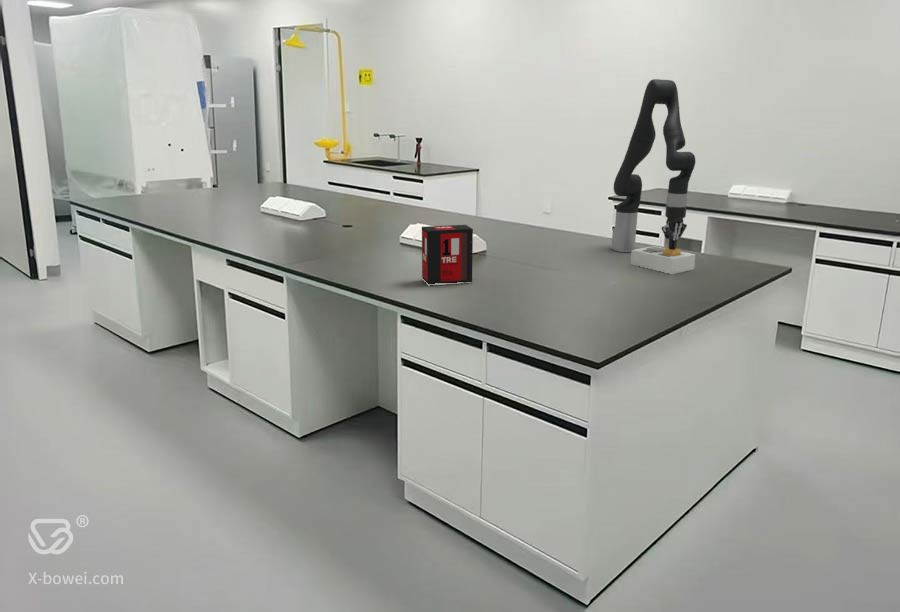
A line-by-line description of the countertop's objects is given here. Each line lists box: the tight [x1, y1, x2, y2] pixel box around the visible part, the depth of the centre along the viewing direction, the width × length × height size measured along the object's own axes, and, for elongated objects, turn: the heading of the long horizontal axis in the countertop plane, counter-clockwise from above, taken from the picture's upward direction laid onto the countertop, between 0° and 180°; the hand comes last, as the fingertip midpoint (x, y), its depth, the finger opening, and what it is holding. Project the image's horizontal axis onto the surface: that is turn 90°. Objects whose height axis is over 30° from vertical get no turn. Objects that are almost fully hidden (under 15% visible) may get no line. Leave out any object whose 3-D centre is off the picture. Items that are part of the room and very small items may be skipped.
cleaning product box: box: [421, 224, 474, 284], centre depth 247 cm, size 16×9×20 cm, turn 105°
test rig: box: [629, 245, 696, 275], centre depth 272 cm, size 20×14×6 cm
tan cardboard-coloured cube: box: [663, 247, 682, 256], centre depth 268 cm, size 5×5×4 cm
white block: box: [645, 246, 665, 253], centre depth 275 cm, size 5×5×4 cm
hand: (672, 248), depth 267 cm, fingers closed
